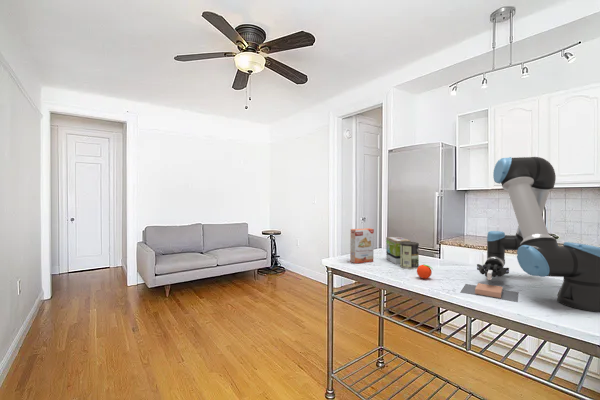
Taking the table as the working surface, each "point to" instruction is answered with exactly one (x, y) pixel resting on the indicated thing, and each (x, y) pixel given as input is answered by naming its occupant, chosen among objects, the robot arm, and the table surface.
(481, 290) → the tile
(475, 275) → the table surface
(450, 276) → the table surface
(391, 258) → the tea box
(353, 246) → the cracker box
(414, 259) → the coffee can
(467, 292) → the mat
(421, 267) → the clementine
